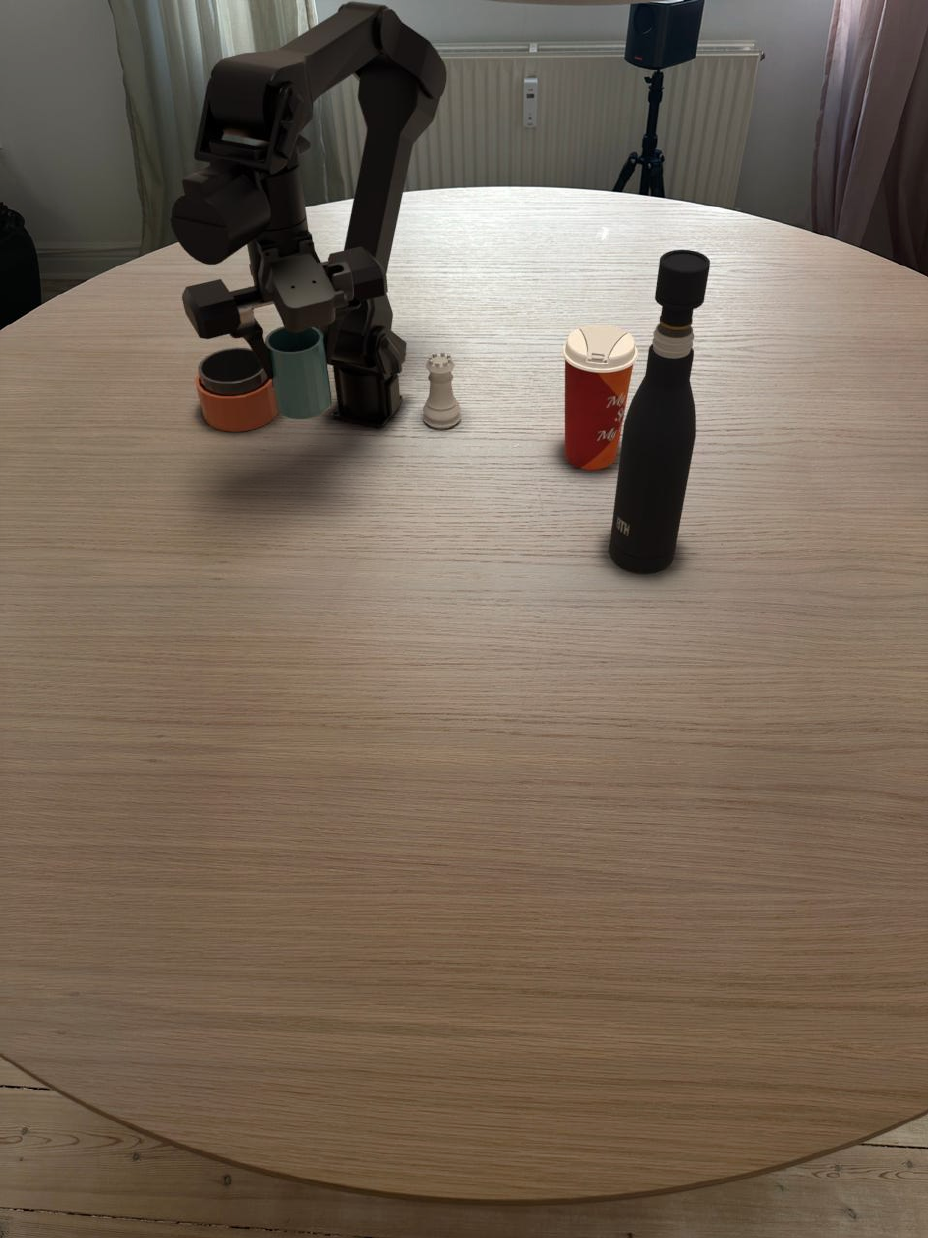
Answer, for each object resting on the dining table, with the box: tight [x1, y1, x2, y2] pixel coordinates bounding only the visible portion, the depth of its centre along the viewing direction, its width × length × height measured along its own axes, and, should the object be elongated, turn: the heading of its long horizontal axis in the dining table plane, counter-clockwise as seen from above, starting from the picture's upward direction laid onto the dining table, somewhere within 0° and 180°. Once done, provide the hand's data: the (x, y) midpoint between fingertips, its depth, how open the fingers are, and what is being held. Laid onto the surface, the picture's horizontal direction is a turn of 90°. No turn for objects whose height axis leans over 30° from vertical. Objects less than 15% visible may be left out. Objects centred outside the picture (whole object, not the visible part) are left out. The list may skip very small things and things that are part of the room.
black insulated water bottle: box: [608, 249, 711, 574], centre depth 86 cm, size 6×6×30 cm
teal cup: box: [264, 325, 332, 420], centre depth 100 cm, size 6×6×8 cm
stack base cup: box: [195, 372, 280, 433], centre depth 114 cm, size 9×9×4 cm
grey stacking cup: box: [197, 347, 270, 396], centre depth 114 cm, size 8×8×6 cm
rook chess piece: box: [422, 351, 462, 430], centre depth 111 cm, size 4×4×8 cm
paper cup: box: [561, 324, 639, 471], centre depth 104 cm, size 8×8×14 cm
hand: (298, 369), depth 99 cm, fingers closed on teal cup, 6 cm apart
